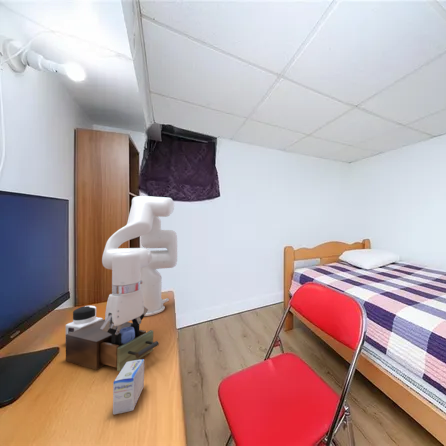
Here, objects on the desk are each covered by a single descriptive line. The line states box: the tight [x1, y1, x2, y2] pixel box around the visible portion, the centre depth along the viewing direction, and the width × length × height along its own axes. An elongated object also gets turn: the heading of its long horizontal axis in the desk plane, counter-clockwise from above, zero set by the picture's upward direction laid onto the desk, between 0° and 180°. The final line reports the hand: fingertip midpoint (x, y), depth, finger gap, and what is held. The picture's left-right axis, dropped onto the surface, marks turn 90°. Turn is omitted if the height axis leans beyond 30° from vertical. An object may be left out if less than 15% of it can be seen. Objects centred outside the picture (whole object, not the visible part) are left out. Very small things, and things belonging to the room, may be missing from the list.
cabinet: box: [65, 318, 132, 371], centre depth 76 cm, size 15×13×9 cm
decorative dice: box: [120, 327, 135, 344], centre depth 74 cm, size 4×4×4 cm
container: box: [65, 305, 104, 335], centre depth 84 cm, size 8×8×13 cm
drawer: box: [99, 329, 160, 373], centre depth 73 cm, size 18×11×7 cm, turn 75°
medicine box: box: [112, 358, 145, 416], centre depth 57 cm, size 8×4×9 cm, turn 20°
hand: (126, 339), depth 74 cm, fingers closed on decorative dice, 5 cm apart
